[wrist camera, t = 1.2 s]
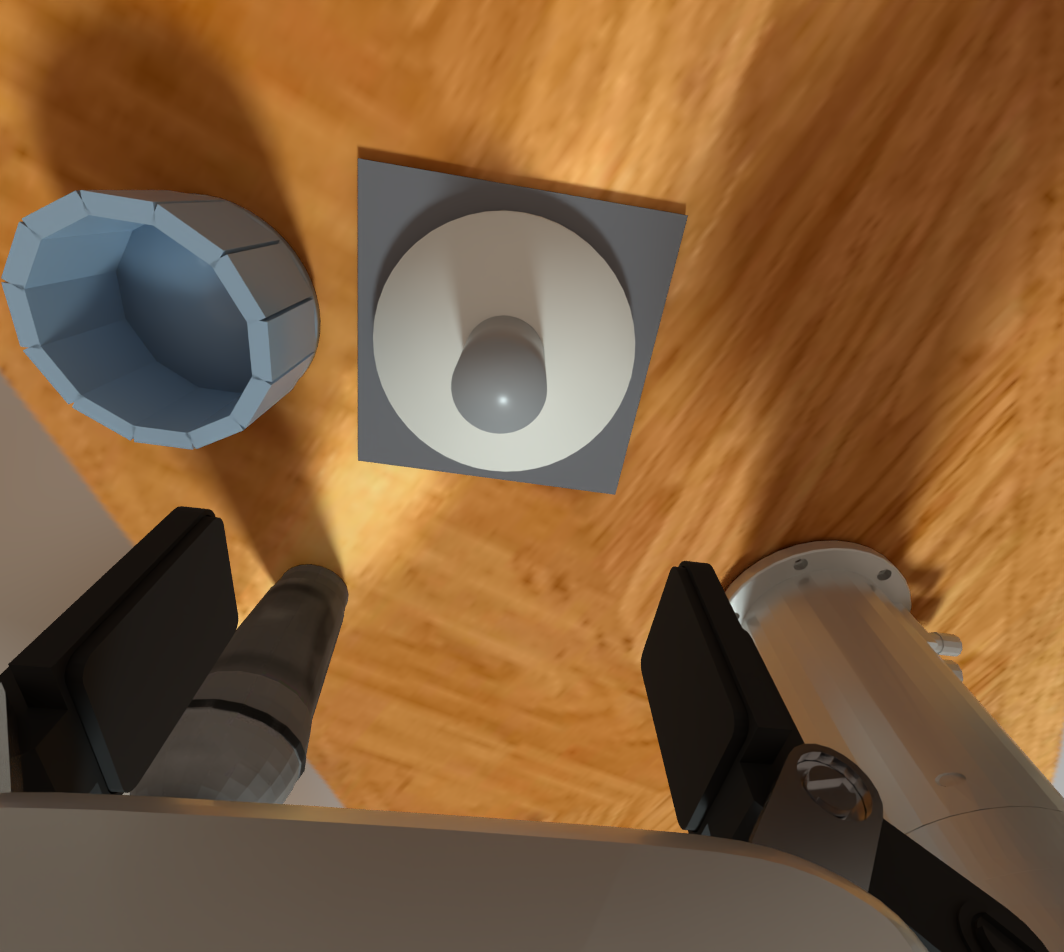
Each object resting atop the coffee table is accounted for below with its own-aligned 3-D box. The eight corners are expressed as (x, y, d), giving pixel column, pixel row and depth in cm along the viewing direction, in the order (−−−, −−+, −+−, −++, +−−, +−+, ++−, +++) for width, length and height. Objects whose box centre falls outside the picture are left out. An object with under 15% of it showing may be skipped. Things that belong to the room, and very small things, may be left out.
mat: (685, 215, 25) (687, 215, 25) (614, 491, 32) (615, 494, 32) (360, 159, 24) (357, 158, 24) (360, 457, 31) (358, 460, 30)
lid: (661, 235, 25) (695, 247, 20) (602, 477, 31) (616, 536, 26) (380, 188, 24) (337, 187, 19) (376, 446, 30) (343, 502, 25)
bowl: (316, 213, 25) (259, 219, 20) (323, 412, 30) (278, 460, 24) (91, 175, 24) (-32, 171, 19) (134, 386, 29) (45, 430, 24)
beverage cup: (295, 526, 33) (27, 910, 15) (391, 589, 35) (253, 984, 18) (237, 593, 36) (-51, 990, 18) (330, 648, 38) (157, 1045, 20)
